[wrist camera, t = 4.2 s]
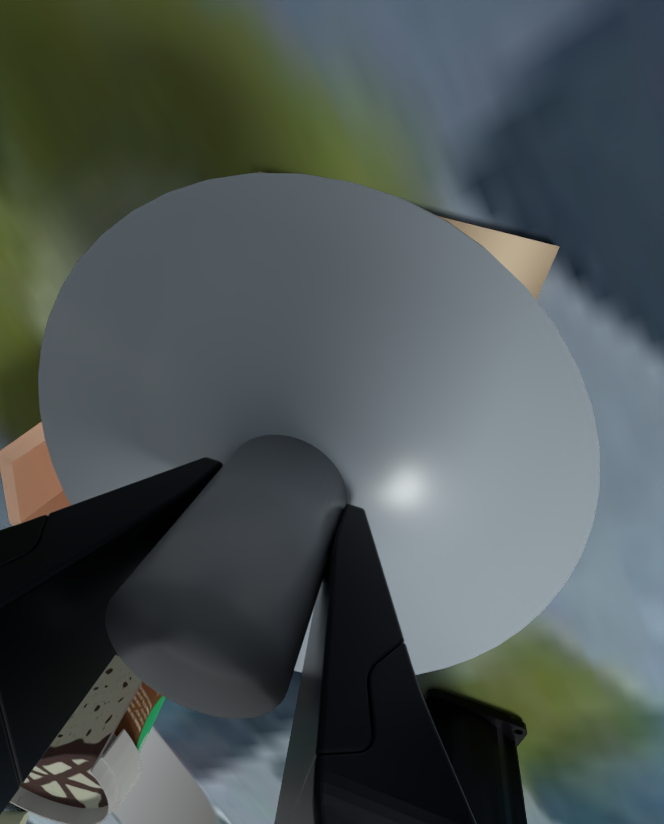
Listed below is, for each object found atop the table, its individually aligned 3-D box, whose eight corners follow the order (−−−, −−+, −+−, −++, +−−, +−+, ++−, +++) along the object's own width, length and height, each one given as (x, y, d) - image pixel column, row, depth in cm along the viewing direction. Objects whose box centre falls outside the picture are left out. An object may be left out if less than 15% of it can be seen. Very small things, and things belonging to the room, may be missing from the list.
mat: (557, 245, 16) (559, 246, 16) (449, 491, 22) (449, 496, 22) (262, 171, 18) (258, 171, 17) (230, 421, 23) (227, 425, 23)
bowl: (244, 429, 23) (208, 468, 20) (222, 577, 29) (191, 629, 25) (53, 368, 24) (-13, 395, 21) (67, 521, 30) (16, 563, 26)
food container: (116, 676, 37) (14, 823, 28) (76, 624, 35) (-48, 764, 26) (235, 669, 33) (158, 841, 24) (197, 610, 31) (98, 772, 22)
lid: (728, 277, 7) (1218, 395, 3) (458, 700, 13) (467, 961, 8) (51, 107, 8) (-396, -7, 4) (83, 561, 14) (-82, 723, 10)
